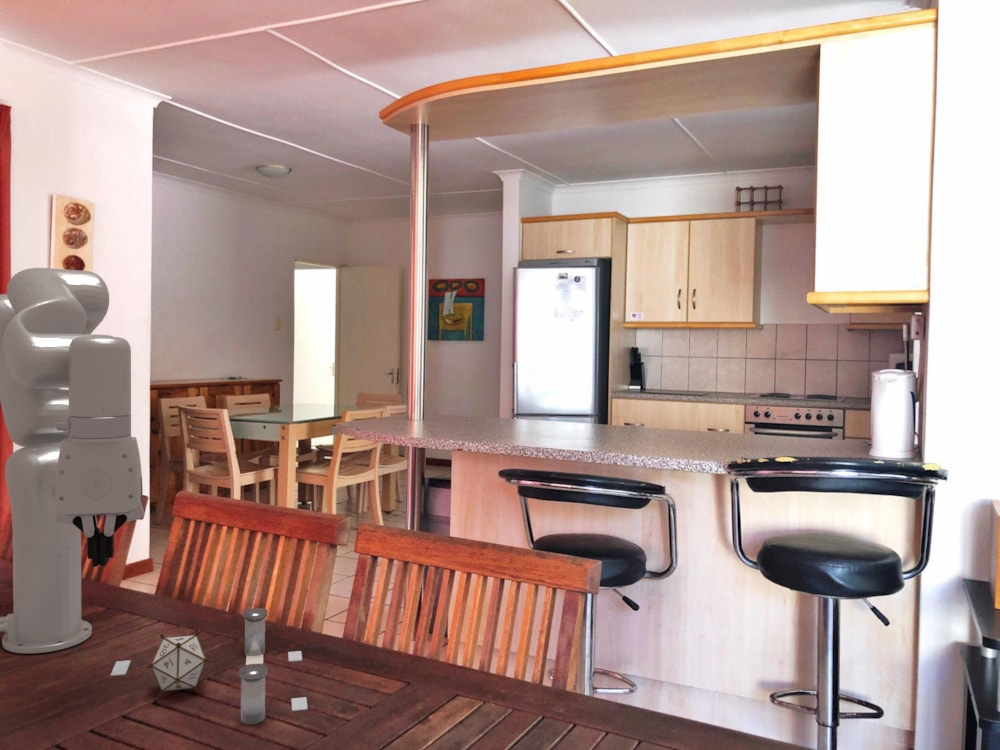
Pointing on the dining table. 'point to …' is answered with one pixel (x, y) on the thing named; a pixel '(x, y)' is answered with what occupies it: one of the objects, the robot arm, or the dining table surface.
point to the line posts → (253, 668)
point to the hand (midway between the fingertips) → (101, 563)
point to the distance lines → (297, 703)
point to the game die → (178, 663)
